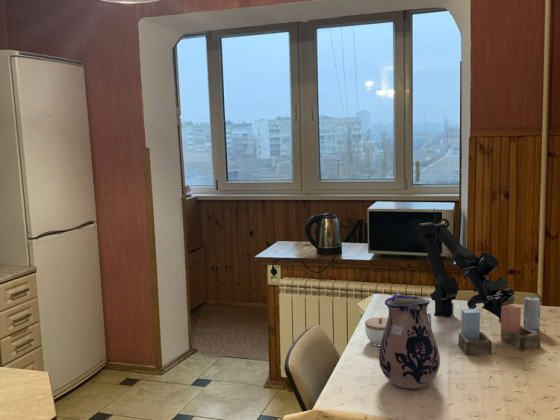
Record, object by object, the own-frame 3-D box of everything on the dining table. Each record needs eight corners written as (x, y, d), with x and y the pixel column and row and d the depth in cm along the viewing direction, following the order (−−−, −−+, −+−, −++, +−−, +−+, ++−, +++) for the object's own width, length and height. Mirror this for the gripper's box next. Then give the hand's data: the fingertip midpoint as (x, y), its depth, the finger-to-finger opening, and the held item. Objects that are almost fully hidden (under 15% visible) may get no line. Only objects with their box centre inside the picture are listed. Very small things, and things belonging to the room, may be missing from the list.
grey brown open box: (458, 345, 191) (458, 332, 190) (482, 344, 190) (482, 332, 190) (466, 355, 182) (466, 342, 181) (491, 354, 182) (491, 341, 181)
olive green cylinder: (517, 324, 210) (518, 296, 208) (501, 324, 210) (502, 296, 208) (511, 318, 216) (512, 291, 214) (496, 319, 216) (496, 292, 214)
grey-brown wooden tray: (501, 342, 192) (502, 329, 191) (518, 338, 196) (518, 325, 195) (523, 350, 184) (523, 337, 183) (540, 346, 187) (540, 333, 187)
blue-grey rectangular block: (461, 342, 193) (461, 309, 191) (475, 341, 192) (476, 308, 191) (464, 346, 189) (465, 312, 187) (479, 346, 188) (480, 312, 187)
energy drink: (539, 328, 205) (540, 297, 203) (539, 332, 200) (540, 301, 198) (523, 326, 207) (524, 295, 205) (523, 331, 202) (524, 299, 200)
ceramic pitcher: (396, 400, 153) (396, 313, 149) (364, 370, 173) (363, 293, 169) (451, 390, 157) (452, 306, 154) (414, 362, 177) (413, 287, 174)
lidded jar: (359, 343, 196) (358, 317, 195) (378, 335, 203) (378, 310, 201) (382, 351, 188) (382, 324, 186) (402, 343, 195) (402, 317, 193)
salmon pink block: (500, 338, 194) (501, 306, 193) (510, 336, 197) (511, 303, 195) (509, 342, 191) (510, 309, 189) (520, 339, 193) (520, 306, 191)
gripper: (473, 273, 194) (497, 312, 186) (511, 266, 202) (536, 303, 194) (457, 290, 202) (479, 327, 194) (494, 283, 210) (517, 318, 202)
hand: (503, 319), depth 196 cm, fingers closed
